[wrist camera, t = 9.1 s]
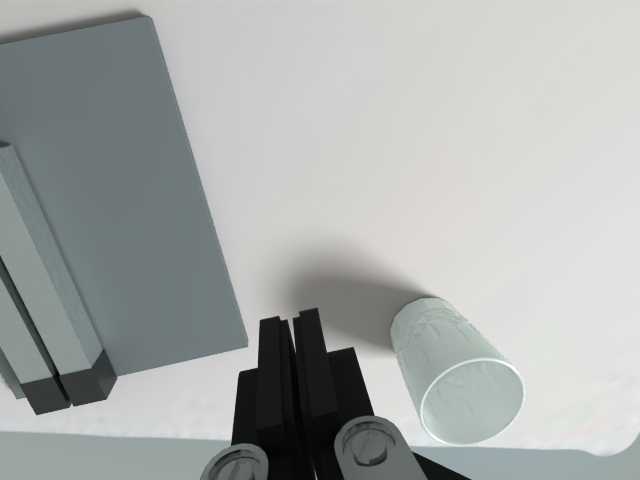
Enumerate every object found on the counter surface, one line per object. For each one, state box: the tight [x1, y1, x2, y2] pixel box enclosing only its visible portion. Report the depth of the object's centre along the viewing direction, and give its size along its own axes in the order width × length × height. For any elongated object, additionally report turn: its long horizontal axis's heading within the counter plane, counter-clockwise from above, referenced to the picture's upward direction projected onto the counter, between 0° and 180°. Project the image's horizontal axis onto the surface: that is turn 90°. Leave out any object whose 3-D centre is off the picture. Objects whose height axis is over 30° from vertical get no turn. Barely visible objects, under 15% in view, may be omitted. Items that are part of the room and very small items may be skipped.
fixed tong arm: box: [0, 256, 72, 415], centre depth 31 cm, size 20×3×3 cm, turn 11°
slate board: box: [0, 16, 248, 399], centre depth 32 cm, size 26×20×1 cm
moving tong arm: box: [0, 145, 117, 407], centre depth 30 cm, size 25×5×3 cm, turn 10°
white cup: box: [390, 298, 525, 447], centre depth 34 cm, size 8×8×10 cm
